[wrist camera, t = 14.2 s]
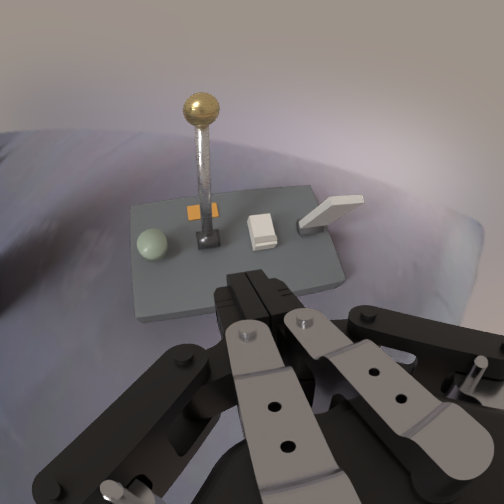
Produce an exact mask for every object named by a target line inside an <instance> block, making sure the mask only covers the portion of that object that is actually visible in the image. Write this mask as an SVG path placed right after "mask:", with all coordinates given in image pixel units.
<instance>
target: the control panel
mask: <svg viewBox="0 0 504 504" xmlns="http://www.w3.org/2000/svg"><path fill="white" fill-rule="evenodd" d="M211 201H212V220H213V229H218V230H219V234H220V242H221V247H217V248H210V249H203V250H198V245H197V238H196V232H198V231H202V229H201V217H200V205H199V196H193V197H186V198H178V199H171V200H165V201H158V202H152V203H145V204H139V205H133V206H130V250H131V271H132V286H133V298H134V309H135V318H136V319H138V320H139V321H140V322H141V323H147V322H155V321H162V320H169V319H176V318H183V317H189V316H196V315H202V314H208V313H214V312H216V310H215V303H214V296H213V294H214V292H215V290H216V288H218V287H224V286H227V280H226V275H227V274H233V273H239V272H245V271H251V270H257V269H262V270H263V272H264V273H265V274H266V276H267V277H268V278H269V279H270V278H277V279H279V280H281V281H283V282H284V283H285V284H286V285H287V286H288V288H289V289H290V290H291V291H292V292H293V294H294V295H295V296H296V297H298V296H302V295H307V294H312V293H316V292H320V291H325V290H329V289H333V288H336V287H338V286H339V285H340V284H342V283H343V282H344V281H345V280H346V279H345V276H344V273H343V270H342V267H341V264H340V261H339V258H338V256H337V253H336V250H335V247H334V244H333V242H332V239H331V236H330V234H329V231H328V228H327V226H326V225H325V226H324V231H323V232H322V233H316V234H309V235H302V236H300V235H299V234H298V232H297V229H296V221H297V219H300V218H304V217H305V216H306V215H308V214H309V213H310V212H311V211H313V210H314V209H315V208H316V207H318V206H319V205H318V203H317V200H316V198H315V196H314V193H313V191H312V188H311V186H310V185H307V186H292V187H278V188H266V189H255V190H245V191H235V192H226V193H217V194H211ZM268 213H270V215H271V219H272V223H273V228H274V232H275V235H276V236H277V244H276V246H275V247H274V248H270V249H263V250H257V251H253V247H252V242H251V238H250V233H249V228H248V224H247V220H248V218H249V216H251V215H260V214H268ZM152 228H154V229H159V230H161V231H162V232H163V233H164V234H165V236H166V240H167V243H168V251H167V253H166V255H165V256H164V257H163V258H162V259H160V260H158V261H154V262H151V261H147V260H145V259H144V258H143V257H142V256H141V254H140V252H139V250H138V248H137V240H138V237H139V236H140V234H141V233H142V232H144V231H145V230H147V229H152Z"/></svg>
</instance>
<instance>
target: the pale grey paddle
mask: <svg viewBox="0 0 504 504" xmlns="http://www.w3.org/2000/svg"><path fill="white" fill-rule="evenodd" d="M363 203H364V200H363V196H362V195H347V196H332V197H329V198H327V199H326V200H325V201H324V202H323V203H321V204H320V205H319V206H318V207H316V208H315V209H314V210H313V211H311V212H310V213H309V214H308V215H306V216H305V217H304V218H300V219H297V221H296V229H297V232H298V234H299V235H300V236H302V235H309V234H316V233H322V232H323V231H324V226H325V225H329V224H330V223H332V222H334V221H335V220H337V219H339V218H340V217H342V216H343V215H345V214H347V213H348V212H350V211H352V210H353V209H355V208H356V207H358V206H360V205H361V204H363Z"/></svg>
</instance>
